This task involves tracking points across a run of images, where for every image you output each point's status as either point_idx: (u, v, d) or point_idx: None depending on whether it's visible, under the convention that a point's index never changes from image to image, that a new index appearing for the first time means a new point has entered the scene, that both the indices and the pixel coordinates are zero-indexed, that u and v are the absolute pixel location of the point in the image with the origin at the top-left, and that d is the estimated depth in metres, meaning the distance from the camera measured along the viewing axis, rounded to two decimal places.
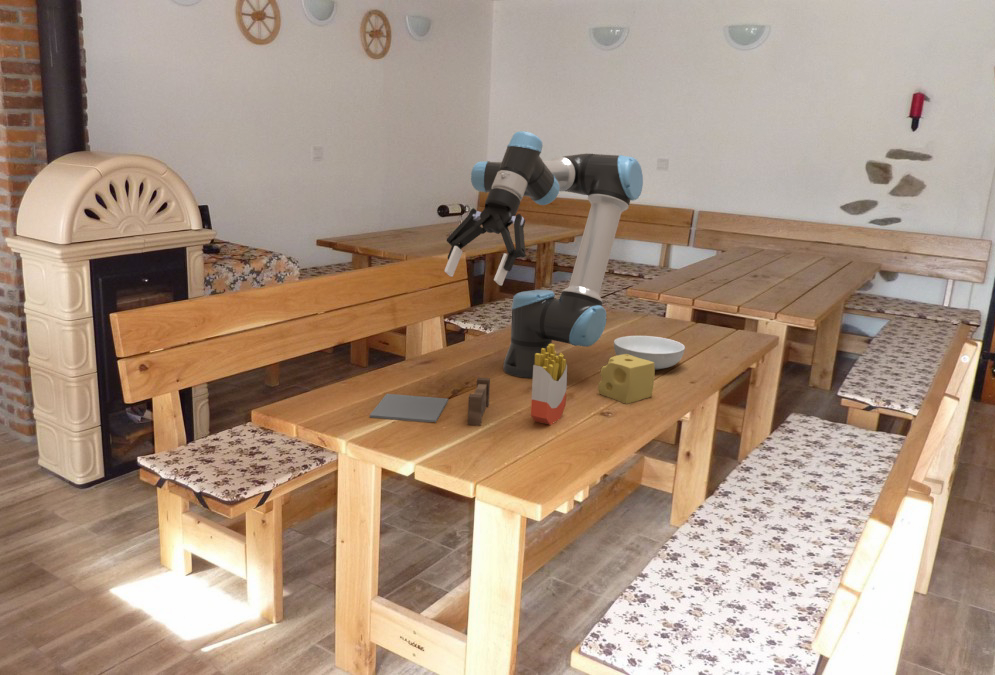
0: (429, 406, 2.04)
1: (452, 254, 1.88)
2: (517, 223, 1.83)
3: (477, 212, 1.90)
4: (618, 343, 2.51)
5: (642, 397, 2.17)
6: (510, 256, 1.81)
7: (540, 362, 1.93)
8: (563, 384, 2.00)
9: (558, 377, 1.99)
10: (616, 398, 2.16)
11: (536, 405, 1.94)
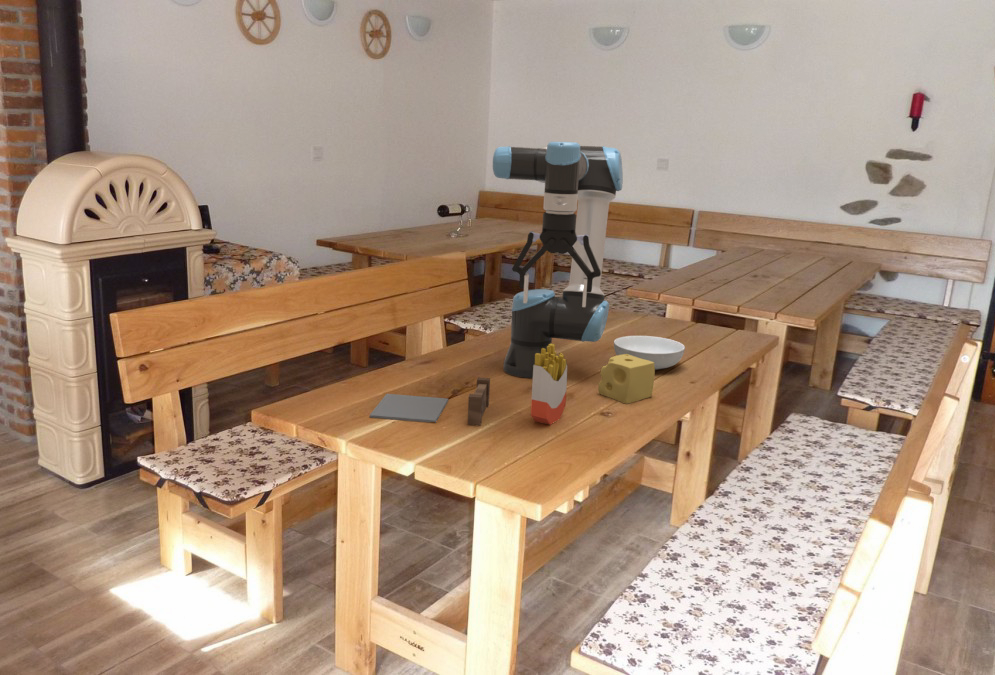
0: (429, 406, 2.04)
1: (525, 284, 1.91)
2: (587, 246, 1.87)
3: (534, 234, 1.89)
4: (618, 343, 2.51)
5: (642, 397, 2.17)
6: (590, 279, 1.89)
7: (540, 362, 1.93)
8: (563, 384, 2.00)
9: (558, 377, 1.99)
10: (616, 398, 2.16)
11: (536, 405, 1.94)
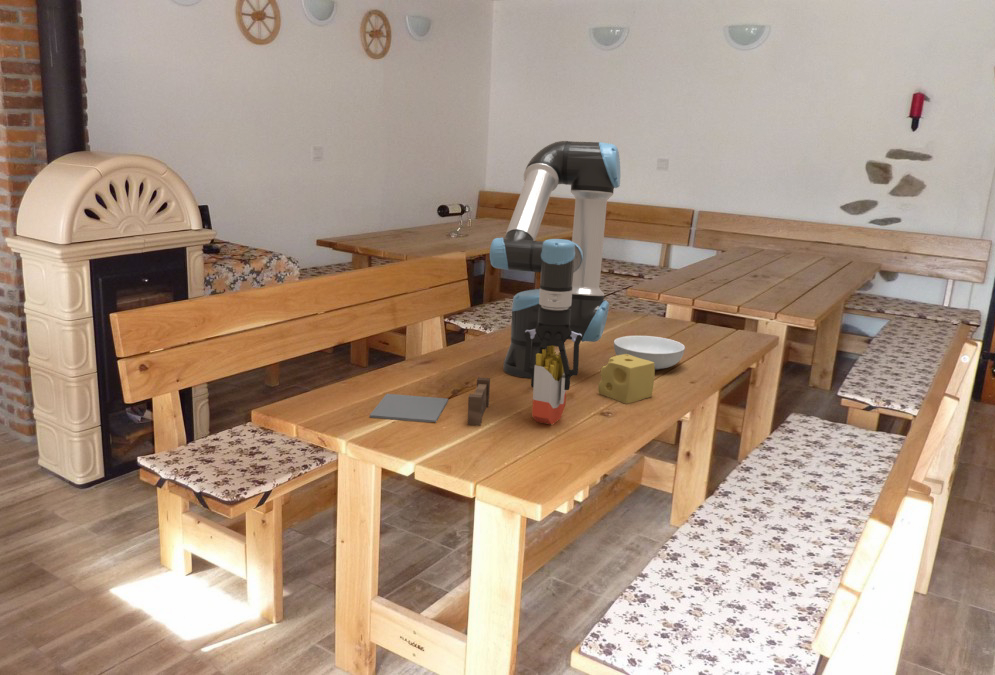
0: (429, 406, 2.04)
1: None
2: (577, 345, 1.93)
3: (530, 332, 1.94)
4: (618, 343, 2.51)
5: (642, 397, 2.17)
6: None
7: (541, 362, 1.93)
8: None
9: (558, 377, 1.99)
10: (616, 398, 2.16)
11: (537, 405, 1.94)
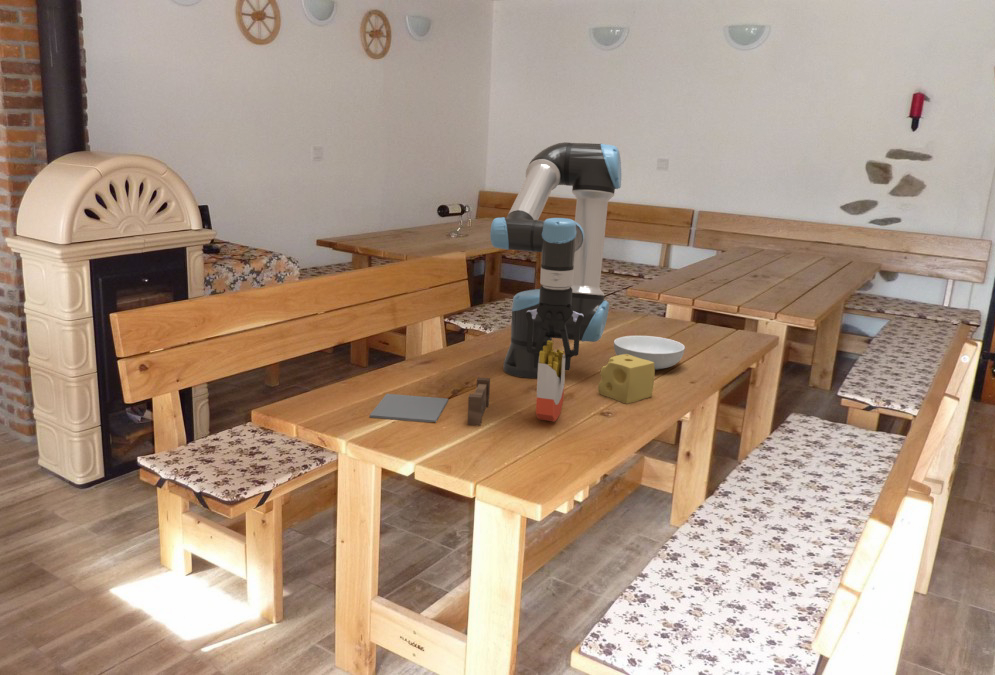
0: (429, 406, 2.04)
1: None
2: (578, 325, 1.92)
3: (532, 312, 1.93)
4: (618, 343, 2.51)
5: (642, 397, 2.17)
6: (568, 358, 1.95)
7: (544, 360, 1.93)
8: None
9: (557, 373, 2.00)
10: (616, 398, 2.16)
11: (541, 402, 1.94)
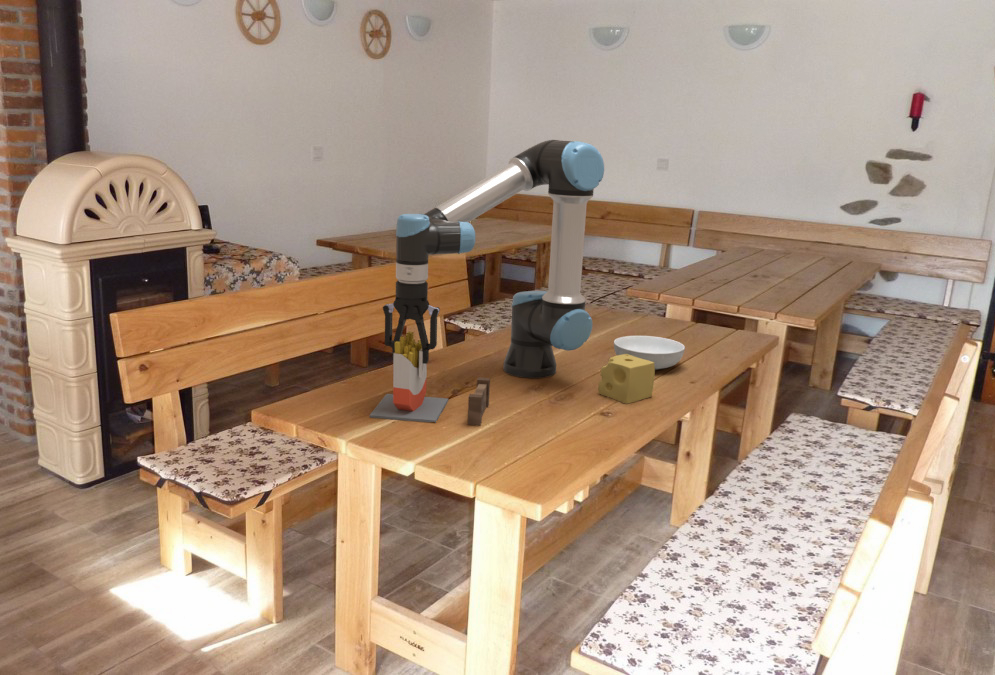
0: (429, 406, 2.04)
1: None
2: (433, 319, 1.96)
3: (389, 306, 1.97)
4: (618, 343, 2.51)
5: (642, 397, 2.17)
6: (425, 352, 1.99)
7: (400, 350, 1.96)
8: None
9: (418, 364, 2.03)
10: (616, 398, 2.16)
11: (398, 392, 1.97)
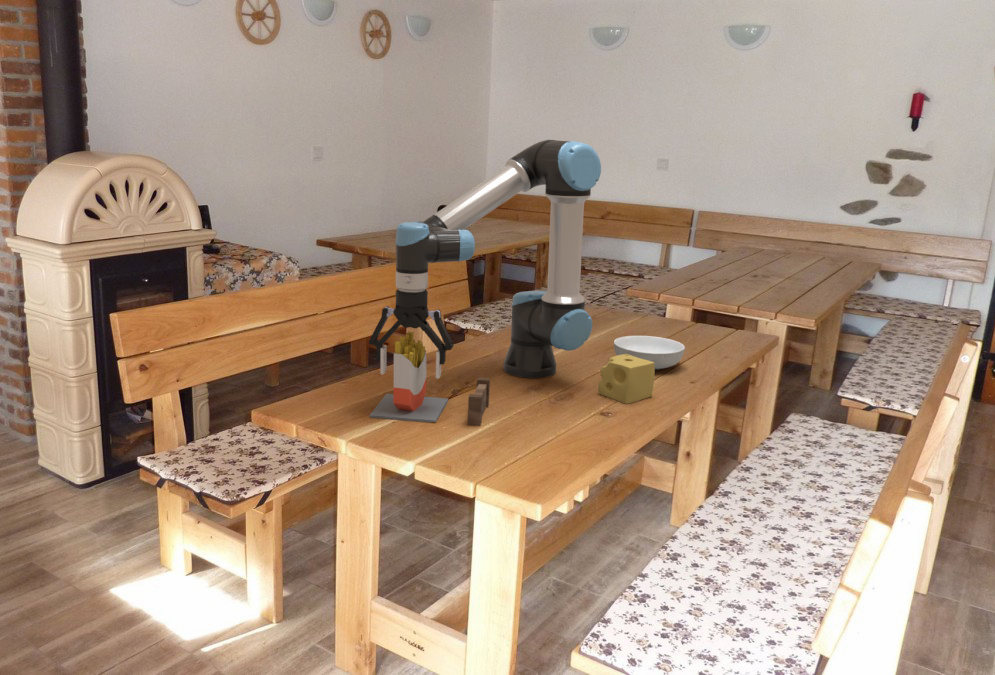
0: (429, 406, 2.04)
1: (382, 357, 2.00)
2: (438, 321, 1.96)
3: (389, 310, 1.97)
4: (618, 343, 2.51)
5: (642, 397, 2.17)
6: (442, 352, 1.98)
7: (400, 350, 1.96)
8: (423, 370, 2.04)
9: (418, 364, 2.03)
10: (616, 398, 2.16)
11: (398, 392, 1.97)
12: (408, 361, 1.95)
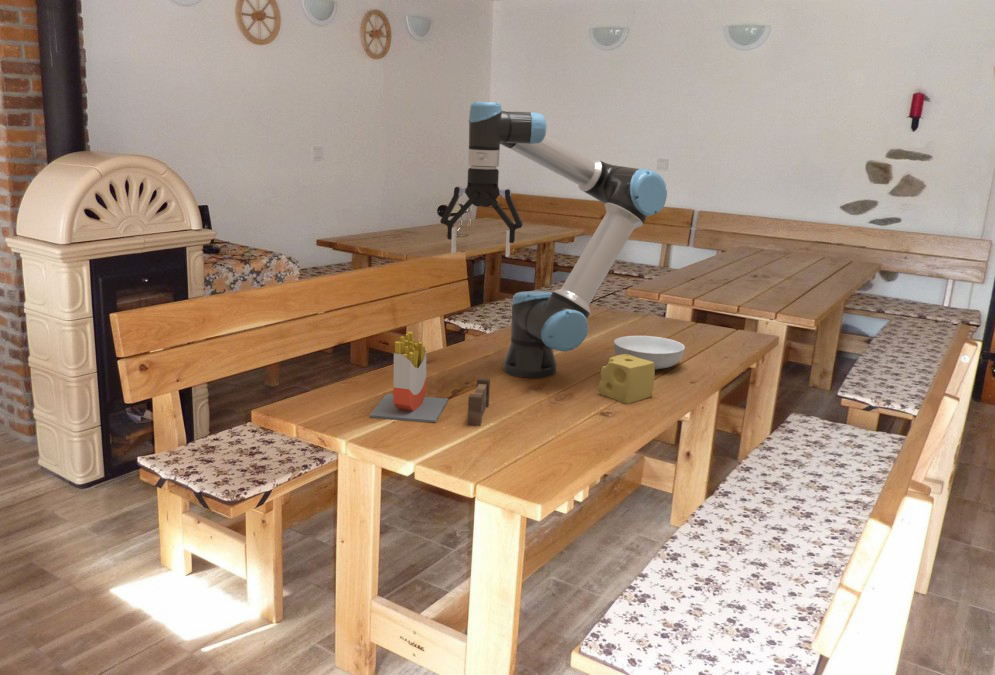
0: (429, 406, 2.04)
1: (453, 236, 2.05)
2: (509, 199, 2.01)
3: (460, 189, 2.03)
4: (618, 343, 2.51)
5: (642, 397, 2.17)
6: (512, 231, 2.04)
7: (400, 350, 1.96)
8: (423, 370, 2.04)
9: (418, 364, 2.03)
10: (616, 398, 2.16)
11: (398, 392, 1.97)
12: (408, 361, 1.95)
